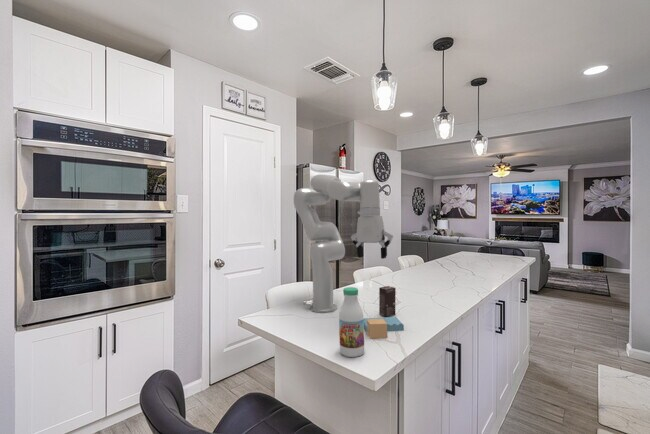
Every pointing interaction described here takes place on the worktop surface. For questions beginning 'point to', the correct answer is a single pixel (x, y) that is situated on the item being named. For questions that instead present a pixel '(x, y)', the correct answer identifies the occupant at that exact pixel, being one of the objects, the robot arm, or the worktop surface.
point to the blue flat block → (388, 323)
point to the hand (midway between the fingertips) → (371, 257)
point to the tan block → (376, 328)
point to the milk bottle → (351, 325)
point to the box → (387, 301)
